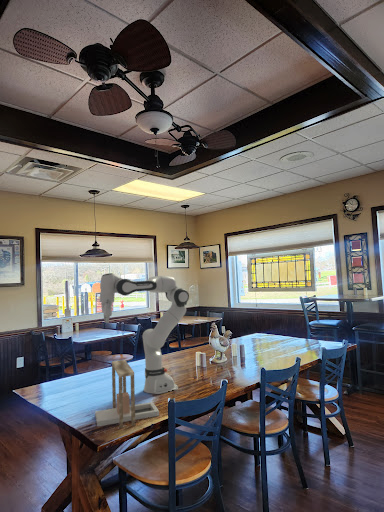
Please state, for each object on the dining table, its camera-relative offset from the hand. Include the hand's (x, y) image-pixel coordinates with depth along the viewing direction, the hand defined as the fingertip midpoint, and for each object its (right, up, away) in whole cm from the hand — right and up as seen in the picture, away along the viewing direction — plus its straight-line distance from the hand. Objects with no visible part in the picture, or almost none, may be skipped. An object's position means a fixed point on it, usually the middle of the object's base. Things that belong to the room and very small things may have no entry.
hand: (106, 321), depth 214 cm
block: (+16, -43, -29) cm, 54 cm away
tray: (+18, -45, -28) cm, 56 cm away
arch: (+16, -46, -29) cm, 56 cm away
